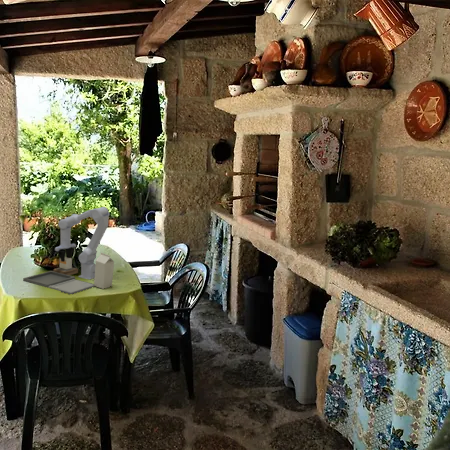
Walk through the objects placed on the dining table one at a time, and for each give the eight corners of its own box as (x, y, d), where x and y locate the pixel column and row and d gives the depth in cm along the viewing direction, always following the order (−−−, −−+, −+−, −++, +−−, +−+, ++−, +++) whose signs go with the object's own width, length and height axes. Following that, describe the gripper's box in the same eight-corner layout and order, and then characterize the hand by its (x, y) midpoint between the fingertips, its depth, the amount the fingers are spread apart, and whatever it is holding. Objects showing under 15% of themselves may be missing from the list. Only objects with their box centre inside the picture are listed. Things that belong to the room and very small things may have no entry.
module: (71, 268, 306) (71, 258, 305) (66, 269, 302) (66, 259, 301) (64, 266, 309) (64, 256, 308) (59, 267, 305) (59, 258, 304)
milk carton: (102, 289, 280) (105, 256, 276) (93, 285, 284) (96, 253, 279) (112, 286, 286) (114, 254, 282) (103, 282, 290) (105, 251, 285)
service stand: (77, 273, 308) (77, 268, 307) (65, 277, 299) (65, 271, 299) (66, 270, 313) (66, 265, 312) (53, 274, 304) (53, 268, 304)
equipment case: (97, 285, 286) (97, 282, 285) (70, 294, 269) (70, 291, 268) (51, 274, 304) (51, 270, 304) (23, 281, 287) (23, 278, 286)
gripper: (69, 235, 310) (70, 257, 313) (51, 239, 298) (51, 261, 300) (78, 237, 307) (78, 259, 309) (59, 241, 295) (59, 263, 297)
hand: (65, 260), depth 305 cm, fingers closed on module, 4 cm apart
